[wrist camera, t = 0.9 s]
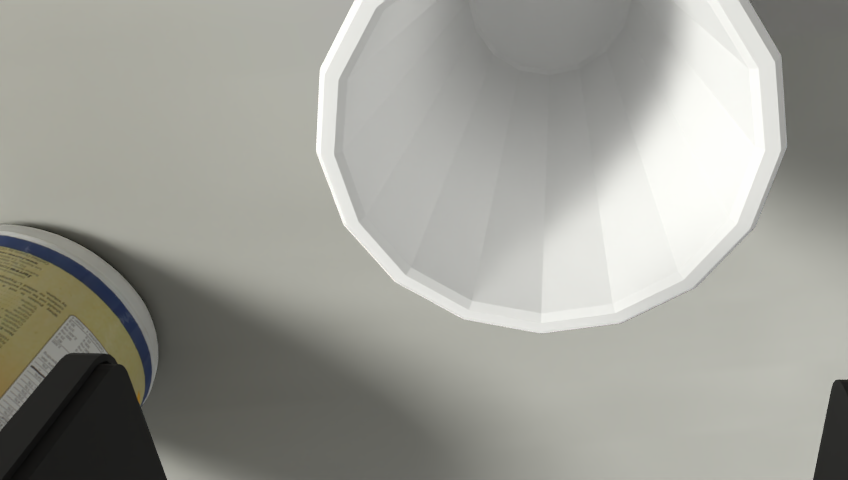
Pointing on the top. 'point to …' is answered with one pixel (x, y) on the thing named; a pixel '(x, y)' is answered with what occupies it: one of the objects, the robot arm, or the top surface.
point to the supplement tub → (65, 314)
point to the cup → (550, 149)
